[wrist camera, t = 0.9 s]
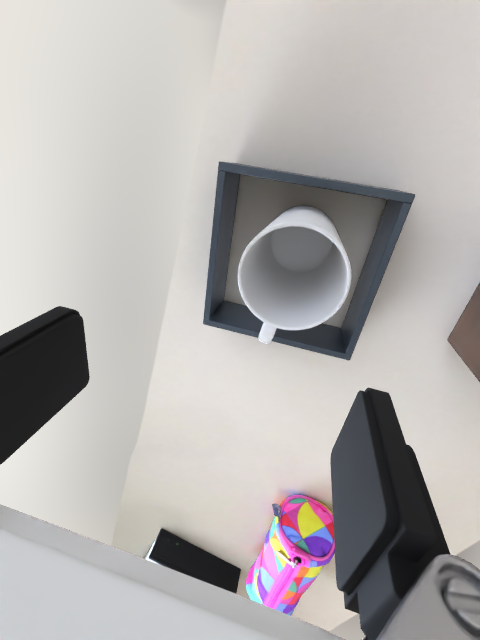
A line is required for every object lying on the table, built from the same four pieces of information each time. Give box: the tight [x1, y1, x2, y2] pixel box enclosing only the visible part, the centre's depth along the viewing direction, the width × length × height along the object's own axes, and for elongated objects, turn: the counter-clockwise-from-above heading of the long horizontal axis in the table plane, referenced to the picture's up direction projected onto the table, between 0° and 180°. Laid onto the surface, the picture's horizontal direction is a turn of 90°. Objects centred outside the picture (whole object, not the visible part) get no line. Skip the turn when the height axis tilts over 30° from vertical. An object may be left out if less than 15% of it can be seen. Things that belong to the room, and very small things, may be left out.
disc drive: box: [144, 529, 241, 594], centre depth 61 cm, size 18×22×5 cm
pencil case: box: [246, 495, 335, 616], centre depth 45 cm, size 22×9×9 cm, turn 170°
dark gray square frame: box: [203, 162, 415, 360], centre depth 27 cm, size 14×14×5 cm
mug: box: [238, 206, 351, 344], centre depth 24 cm, size 10×7×12 cm, turn 161°
